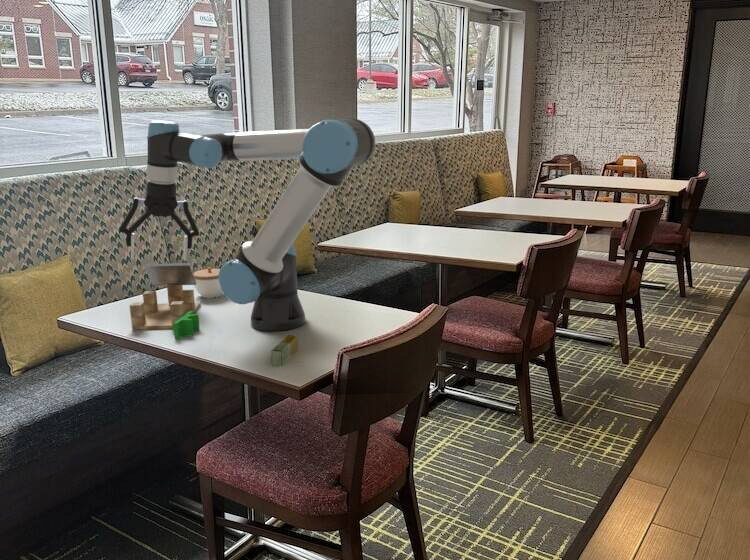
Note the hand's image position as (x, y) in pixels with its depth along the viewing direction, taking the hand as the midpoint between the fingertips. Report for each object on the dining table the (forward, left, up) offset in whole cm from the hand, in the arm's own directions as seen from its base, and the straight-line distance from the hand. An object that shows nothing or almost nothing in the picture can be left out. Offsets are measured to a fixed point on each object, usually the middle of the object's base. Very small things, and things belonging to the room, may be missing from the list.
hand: (159, 258), depth 184 cm
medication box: (-36, +25, -20) cm, 48 cm away
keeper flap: (+2, -17, -9) cm, 19 cm away
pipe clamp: (-7, +4, -20) cm, 22 cm away
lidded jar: (-6, -33, -20) cm, 39 cm away
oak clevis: (+2, -10, -20) cm, 22 cm away
